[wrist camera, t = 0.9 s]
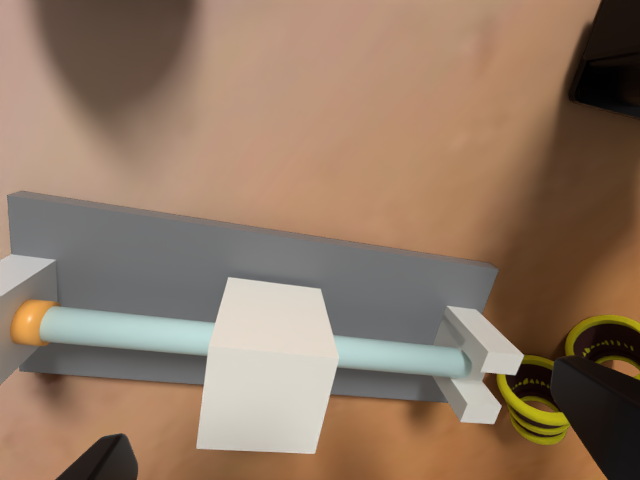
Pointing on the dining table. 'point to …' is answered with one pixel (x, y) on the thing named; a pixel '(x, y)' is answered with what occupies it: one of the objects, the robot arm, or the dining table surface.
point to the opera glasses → (534, 381)
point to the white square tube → (267, 369)
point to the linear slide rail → (207, 292)
